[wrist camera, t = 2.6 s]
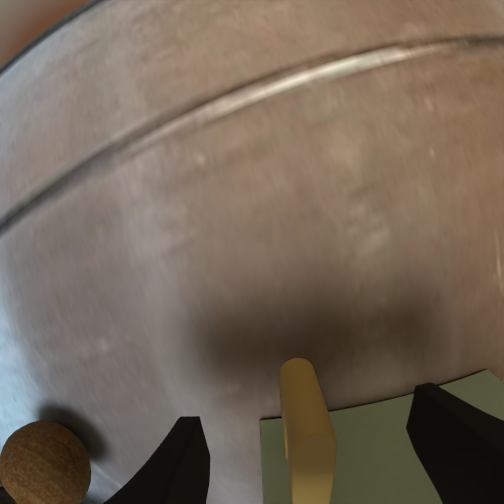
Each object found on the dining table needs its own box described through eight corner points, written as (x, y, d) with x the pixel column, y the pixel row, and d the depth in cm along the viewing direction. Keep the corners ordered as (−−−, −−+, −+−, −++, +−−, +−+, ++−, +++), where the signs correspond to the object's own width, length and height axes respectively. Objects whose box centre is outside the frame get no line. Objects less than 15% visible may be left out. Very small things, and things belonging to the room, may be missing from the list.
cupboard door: (250, 342, 16) (252, 485, 7) (503, 298, 15) (598, 356, 7) (260, 431, 17) (267, 557, 8) (484, 379, 17) (553, 450, 8)
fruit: (120, 445, 17) (84, 534, 10) (84, 469, 18) (51, 541, 11) (48, 386, 16) (-13, 463, 9) (23, 420, 17) (-25, 483, 10)
